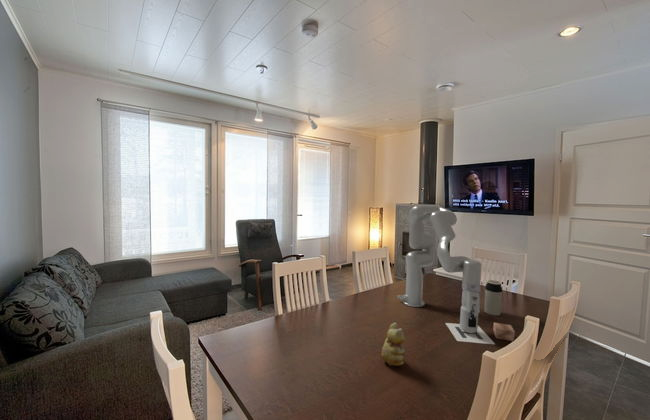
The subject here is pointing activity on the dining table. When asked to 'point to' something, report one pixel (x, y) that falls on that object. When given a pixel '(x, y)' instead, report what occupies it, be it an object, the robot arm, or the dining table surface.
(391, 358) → the decorative figurine
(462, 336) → the letter card
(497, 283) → the travel mug
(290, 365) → the dining table surface
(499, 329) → the brown block
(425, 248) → the robot arm
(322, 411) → the dining table surface
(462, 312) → the can
